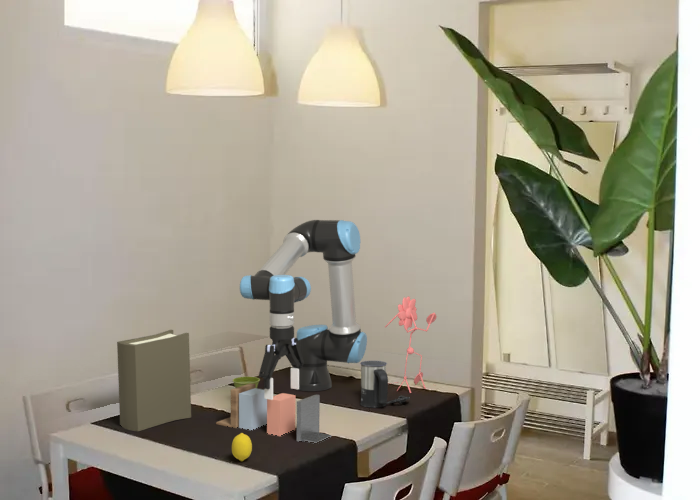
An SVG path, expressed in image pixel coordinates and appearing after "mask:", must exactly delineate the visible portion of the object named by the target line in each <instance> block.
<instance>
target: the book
mask: <svg viewBox="0 0 700 500" xmlns="http://www.w3.org/2000/svg"><path fill="white" fill-rule="evenodd" d="M116 345H117V348H116V349H117V375H118V376H117V377H118V379H117V380H118V401H119V405H118V407H119V426H120V425H121V426H122V427H121V426H120V427H121V428H123V429H124V430H128V431H133V432H140V431H144V430H147V429H150V428H153V427H157V426H161V425H164V424H167V423H170V422H173V421H178V420H183V419H190V418H192V397H191V364H190V363H191V359H190V358H191V357H190V333H189V332H184V333H181V334H177V335H176V334H174V329H169V330H165V331H163V332H158V333H156V334H152V335H147V336H142V337H138V338H131V339H125V340H120V341H116Z"/></svg>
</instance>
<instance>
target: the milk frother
mask: <svg viewBox="0 0 700 500" xmlns="http://www.w3.org/2000/svg"><path fill="white" fill-rule="evenodd" d="M359 364H360V389H361V390H360V402H359V405H360V406H362V407H365V408H373V409H374V408H382V407H385V406H387V404H388V405H389V404H392V403H393V404H394V403H397V402H399V404H405V402H406V401H407V400H410V399H411V398H410V396H405V395H399V396H398V398H395V399H392V400H390V401H388V393H389V391H388V390H389V389H388V388H389V378H388V374H387V370H386V369H387V365H388V363H387V362H386V361H381V360H363V361H360V362H359Z"/></svg>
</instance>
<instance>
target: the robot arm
mask: <svg viewBox="0 0 700 500" xmlns="http://www.w3.org/2000/svg"><path fill="white" fill-rule="evenodd" d="M360 249H361V234H360V230H359V228H358V226H357V225H356V224H355V223H354V222H353V221H350V220H344V219H343V220H342V219H339V220H338V219H336V220H334V219H329V220H328V219H327V220H325V219H324V220H323V219H312V220H308V221H305V222H303V223H301V224H298V225H297V226H295V227H294V228H293V229H291V230H290V231H289V232H287V234H286V235H285V237H284V238H283V243H282V244H281V245H279V247H278V248H277V250H275V252H273V254H272V255H271V256H270V257H269V259H267V260H266V262H265V263H264V264H263V265H262V266H261V268H259V269H258V271H257V272H256V273H255V274H254V275H251V274H249V275H244V276H243V277H242V278H241V280H240V283H239V293H240V295H241V297H242V298H244V299H248V300H249V299H250V300H253V301H255V300H261V301H269V314H268V315H269V322H268V323H269V325H270V326H269V339H271V340H272V343H271V344H265V346H264V354H263V358H262V361H261V366H260V369H259V373H258V378H263V390H264V398H265V399H270V400H273V396H274V378H273V374H274V372H275V369H276V366H277V364H278V362H279V360H281V358H283V357H284V356H285V357H286V358H287V361H288V362H289V363H290V365H291V366H292V367H290V389H291V390H293V389H294V390H297V391H302V392H303V391H304V392H321V391H326V390H329V389H331V388H332V379H331V376H330V372H329V368H328V362H335V363H344V364H345V363H346V364H359V363H361V362H362V360H363V358H364V355H365V353H366V349H367V343H368V336H367V333H366V332H364V331H362V330H361V324H359V323H358V322H357V319H356V304H355V290H354V274H353V263H352V262H353V261H354V259H355V258H356V254H358V253H359V252H360ZM307 253H322V259H323V261H325V263H327V267H328V268H327V269H328V278H329V279H328V281H329V292H330V307H331V318H332V324H331V325H330V326H329V328H328V325H327V324H311V325H306V326H302V327H299V328H298V329H297V331H296V337H295V327H294V324H295V304H296V303H298V302H301V301H303V300H305V299H307V298H308V297H309V295H310V294H311V291H312V287H311V286H312V285H311V283H310V281H309V279H307V278H305V277H304V276H292V275H291V274H290V275H289V274H287V273H288V272H289V271H290V269H291V268H292V267H293V266H294V265H295V263H296V262H297V261H298V260H299V259H300V258H302V257H305V255H307Z"/></svg>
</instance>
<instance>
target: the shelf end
mask: <svg viewBox="0 0 700 500" xmlns="http://www.w3.org/2000/svg"><path fill="white" fill-rule="evenodd" d="M254 388H256V384H252V383H250V384H247V385H244V386H241V387H238V388H235V387H234V388H232V389H230V416H229V417H227V418H224V419H220V420H219V421H216V422H215V424H216V425H218V426H222V427H227V426H228V427H229V428H232V427H233V429H238V428H239V393H242V392H245V391H248V390H251V389H254ZM237 427H238V428H237Z"/></svg>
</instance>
